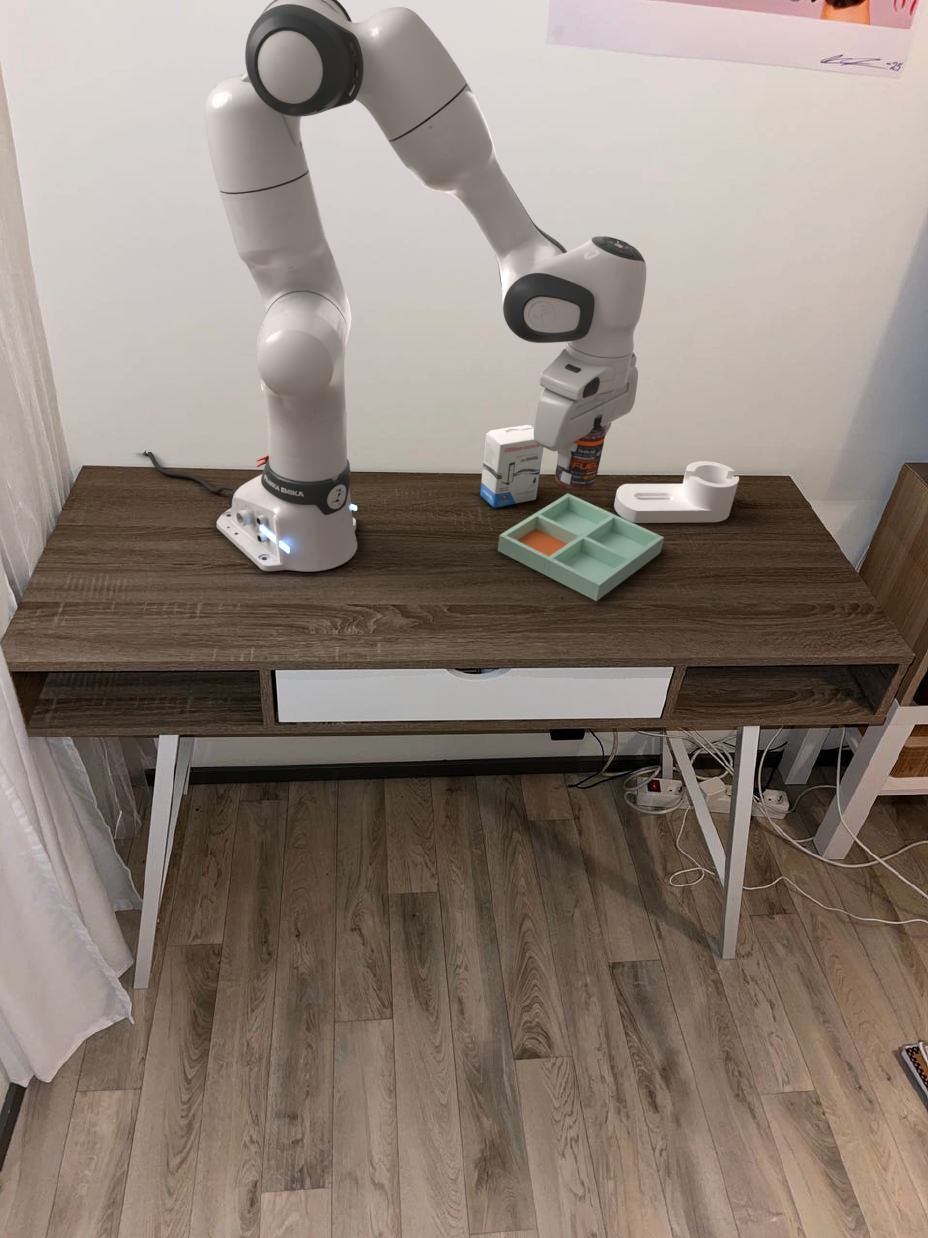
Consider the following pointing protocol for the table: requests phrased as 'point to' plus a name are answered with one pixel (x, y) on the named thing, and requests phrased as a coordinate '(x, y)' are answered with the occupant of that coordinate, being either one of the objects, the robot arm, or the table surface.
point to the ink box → (510, 466)
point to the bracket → (681, 497)
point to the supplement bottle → (583, 460)
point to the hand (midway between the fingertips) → (578, 457)
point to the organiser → (580, 545)
